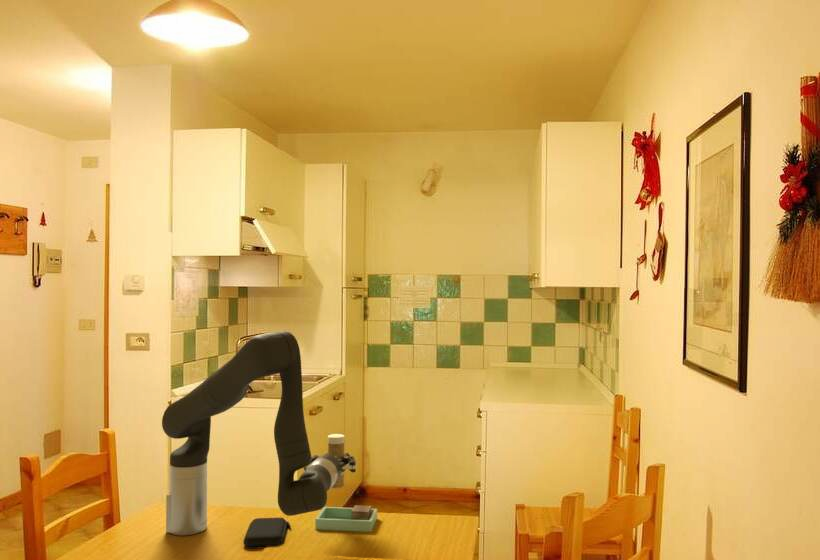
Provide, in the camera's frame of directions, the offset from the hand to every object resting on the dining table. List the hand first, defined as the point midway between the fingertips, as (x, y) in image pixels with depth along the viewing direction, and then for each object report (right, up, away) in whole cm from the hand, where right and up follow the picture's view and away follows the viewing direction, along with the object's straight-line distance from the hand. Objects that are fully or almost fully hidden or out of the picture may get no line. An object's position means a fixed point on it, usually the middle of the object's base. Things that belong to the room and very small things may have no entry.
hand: (338, 456), depth 170 cm
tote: (+3, -18, -3) cm, 18 cm away
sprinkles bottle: (0, -7, -3) cm, 8 cm away
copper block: (+6, -17, -3) cm, 18 cm away
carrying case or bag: (-17, -18, -10) cm, 27 cm away
